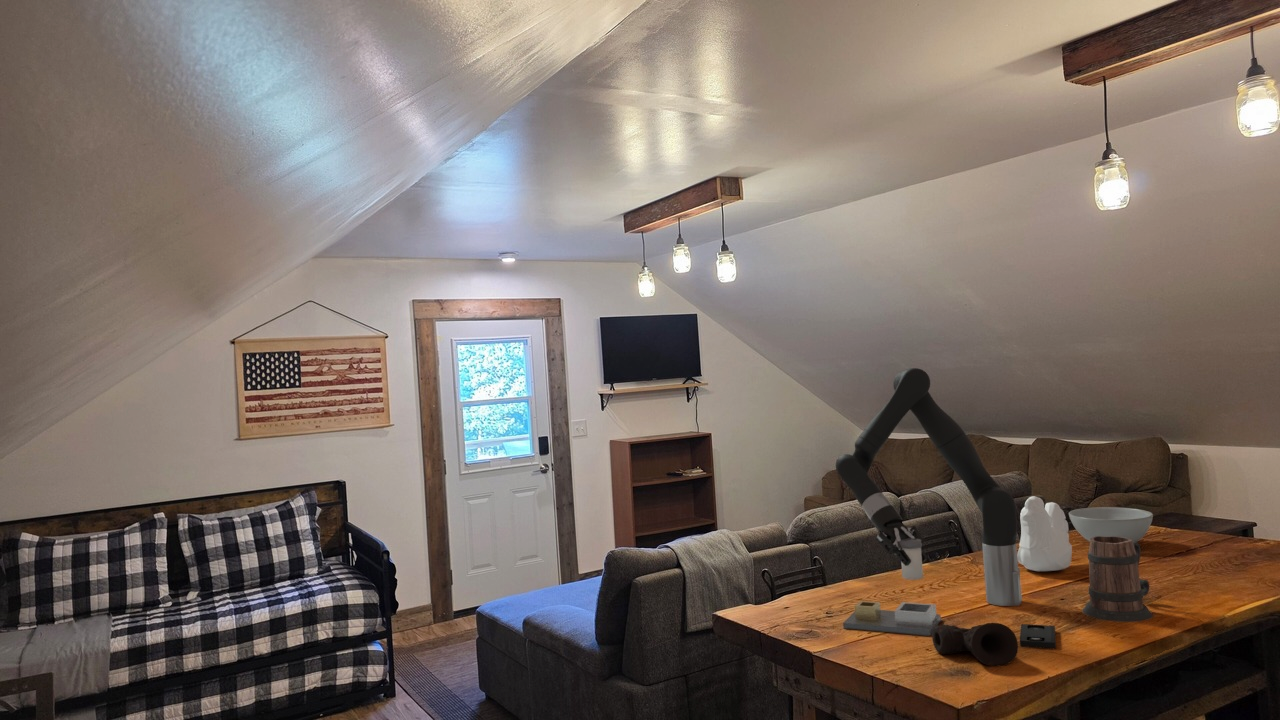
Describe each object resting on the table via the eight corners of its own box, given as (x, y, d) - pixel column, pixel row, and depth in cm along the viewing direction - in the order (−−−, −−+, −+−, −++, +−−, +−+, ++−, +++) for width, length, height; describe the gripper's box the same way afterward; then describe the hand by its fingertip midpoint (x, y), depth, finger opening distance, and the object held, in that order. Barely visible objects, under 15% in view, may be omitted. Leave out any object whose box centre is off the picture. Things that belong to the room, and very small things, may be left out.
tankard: (1131, 625, 217) (1125, 548, 218) (1069, 612, 232) (1063, 539, 232) (1178, 607, 229) (1172, 534, 230) (1116, 596, 244) (1110, 527, 244)
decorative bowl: (1055, 542, 318) (1053, 510, 318) (1121, 536, 320) (1119, 504, 321) (1102, 557, 291) (1099, 522, 291) (1173, 550, 294) (1170, 515, 294)
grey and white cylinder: (925, 575, 230) (923, 538, 230) (921, 580, 225) (918, 542, 225) (904, 574, 233) (901, 537, 233) (899, 579, 228) (896, 542, 228)
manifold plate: (941, 620, 233) (939, 601, 233) (930, 636, 220) (928, 616, 220) (858, 613, 244) (857, 596, 244) (843, 628, 231) (842, 610, 231)
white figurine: (1047, 579, 267) (1041, 501, 267) (1006, 570, 281) (1000, 496, 282) (1099, 567, 278) (1093, 491, 278) (1057, 559, 292) (1051, 487, 293)
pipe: (929, 617, 211) (953, 623, 196) (987, 616, 212) (1016, 622, 197) (932, 658, 209) (957, 667, 194) (991, 657, 210) (1020, 666, 195)
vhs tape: (1021, 631, 220) (1021, 623, 220) (1055, 633, 217) (1054, 625, 217) (1020, 648, 207) (1019, 640, 207) (1055, 651, 204) (1055, 642, 204)
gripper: (868, 507, 233) (904, 558, 222) (906, 501, 239) (942, 549, 228) (856, 524, 237) (890, 574, 226) (894, 517, 244) (929, 566, 233)
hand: (916, 561), depth 227 cm, fingers closed on grey and white cylinder, 5 cm apart
